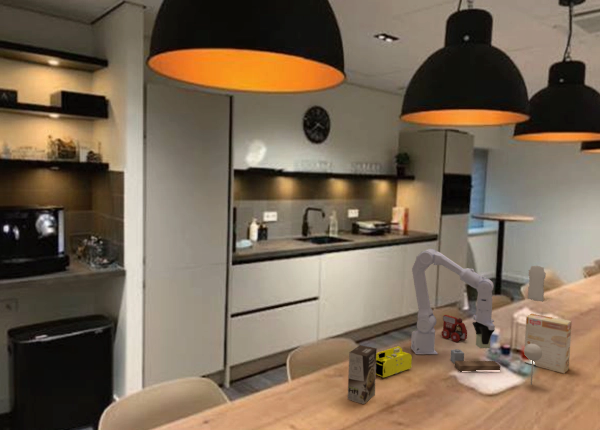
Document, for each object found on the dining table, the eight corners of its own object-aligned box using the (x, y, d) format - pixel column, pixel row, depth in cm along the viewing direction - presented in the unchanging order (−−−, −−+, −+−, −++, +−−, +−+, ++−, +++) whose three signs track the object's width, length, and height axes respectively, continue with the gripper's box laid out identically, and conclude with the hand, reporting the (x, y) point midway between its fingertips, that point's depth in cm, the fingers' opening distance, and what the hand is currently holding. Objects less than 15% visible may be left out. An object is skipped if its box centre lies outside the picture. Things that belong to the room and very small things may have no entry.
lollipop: (533, 389, 162) (535, 348, 161) (518, 382, 167) (520, 342, 166) (544, 386, 165) (546, 345, 164) (529, 379, 170) (531, 340, 169)
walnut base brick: (459, 372, 176) (460, 365, 176) (454, 366, 181) (454, 360, 181) (500, 372, 177) (500, 365, 176) (494, 366, 182) (494, 360, 181)
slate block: (454, 364, 184) (454, 351, 183) (450, 360, 188) (450, 348, 187) (463, 364, 184) (464, 351, 184) (459, 360, 188) (460, 348, 188)
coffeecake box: (569, 368, 181) (572, 320, 180) (564, 374, 176) (567, 324, 175) (528, 358, 192) (531, 312, 190) (523, 363, 186) (526, 316, 185)
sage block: (480, 348, 184) (480, 335, 183) (475, 344, 188) (476, 332, 187) (489, 348, 184) (490, 335, 183) (485, 344, 188) (485, 332, 187)
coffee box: (364, 405, 148) (366, 356, 147) (346, 399, 151) (348, 352, 150) (375, 394, 155) (377, 347, 154) (358, 389, 159) (360, 344, 158)
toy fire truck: (461, 344, 207) (462, 321, 207) (438, 336, 217) (439, 315, 216) (470, 341, 212) (471, 319, 211) (446, 334, 221) (447, 312, 221)
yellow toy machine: (400, 365, 182) (401, 344, 181) (411, 370, 177) (412, 349, 176) (372, 374, 172) (373, 353, 171) (383, 380, 167) (384, 358, 167)
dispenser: (525, 298, 297) (527, 264, 295) (528, 297, 299) (530, 264, 298) (542, 301, 289) (544, 267, 287) (545, 301, 291) (547, 266, 290)
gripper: (502, 314, 178) (501, 348, 179) (485, 304, 192) (483, 336, 193) (485, 314, 177) (483, 348, 178) (469, 304, 192) (467, 336, 192)
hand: (482, 342), depth 185 cm, fingers closed on sage block, 4 cm apart
